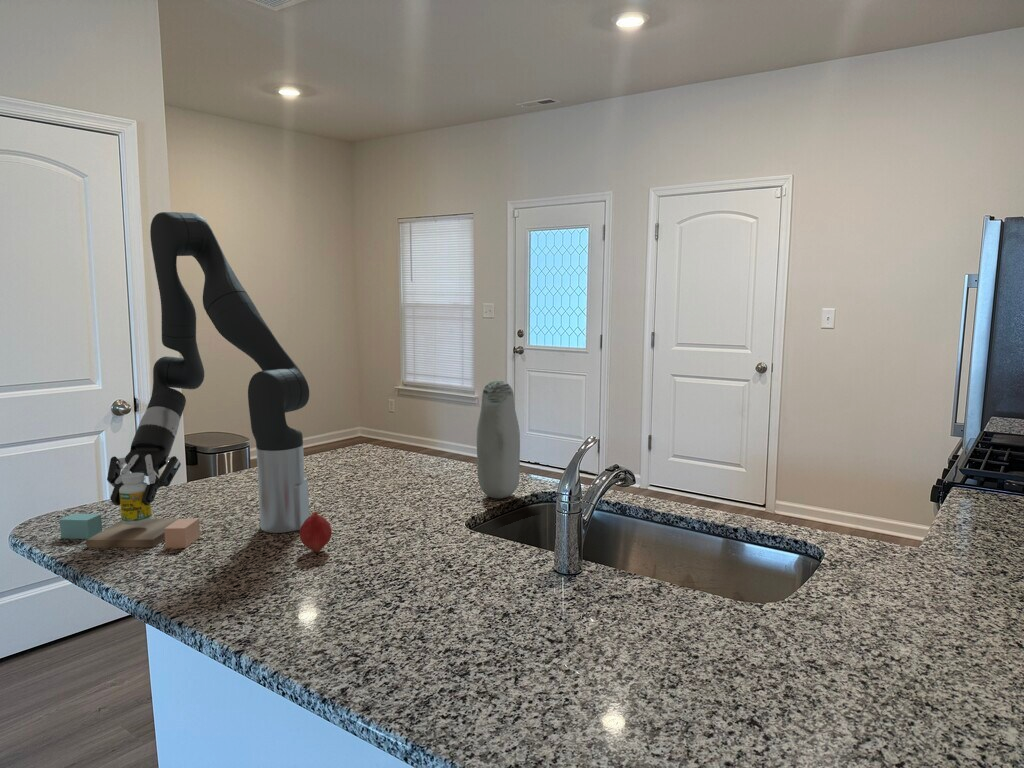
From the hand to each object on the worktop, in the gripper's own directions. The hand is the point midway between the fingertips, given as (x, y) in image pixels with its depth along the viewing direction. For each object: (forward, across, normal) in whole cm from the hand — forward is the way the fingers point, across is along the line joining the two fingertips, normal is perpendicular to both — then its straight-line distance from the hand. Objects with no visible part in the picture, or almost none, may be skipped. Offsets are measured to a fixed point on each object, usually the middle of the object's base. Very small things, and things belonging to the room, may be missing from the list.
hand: (130, 503), depth 137 cm
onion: (+11, +39, -1) cm, 41 cm away
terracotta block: (+7, +11, +4) cm, 14 cm away
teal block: (+4, -12, +7) cm, 14 cm away
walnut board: (+4, 0, +6) cm, 7 cm away
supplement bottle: (+2, 0, +4) cm, 5 cm away
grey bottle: (-14, +73, +24) cm, 78 cm away
